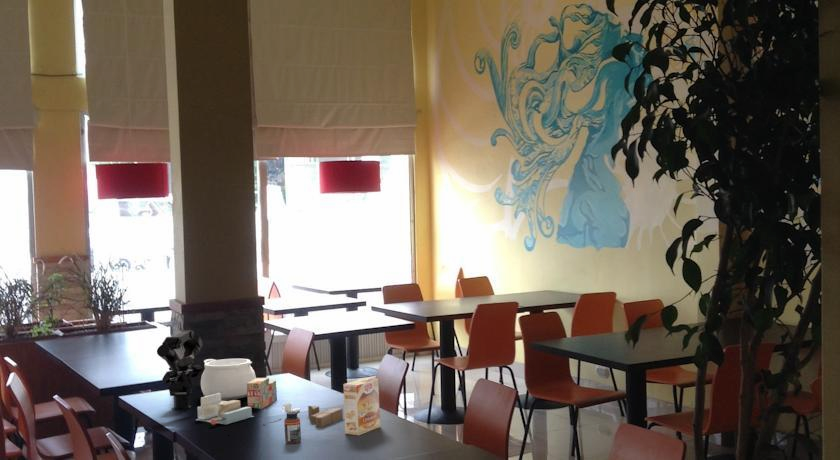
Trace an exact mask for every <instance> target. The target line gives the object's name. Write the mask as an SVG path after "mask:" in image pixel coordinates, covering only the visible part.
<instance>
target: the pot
mask: <svg viewBox="0 0 840 460" xmlns="http://www.w3.org/2000/svg"><path fill="white" fill-rule="evenodd" d="M203 363H204V370H203V372H202V374H201V378H200V388H201V392H202V393H203V396H204V397H205V396H209V395H213V394H217V393H221V401H231V400H238V399H242V398H243V399H244V398H247V383H248V382H250V381H252V380H254V379H256V378H257V376H256V373H255V370H254V369H253V367H252V366H251V364H253V361H251V359H249V358H224V359H223V358H222V359H214V358H208V359H204V360H203Z"/></svg>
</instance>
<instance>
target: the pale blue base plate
mask: <svg viewBox="0 0 840 460" xmlns="http://www.w3.org/2000/svg"><path fill="white" fill-rule="evenodd" d="M252 411H253V410H252V408H251V407H248V406H244V407H240V409H236V410H232V411H229V412H225V413H222V418H220V419H218V416H216V417H212V418H209V419H205V420H203V419H198V418H197V419H196V421H200V422H206V423H210V424H211V425H214V426H215V425H216V424H220V425H229V424H232V423H236V422H239V421H243V420H246V419H250V418H253V417H255V416H254V415H253V412H252Z"/></svg>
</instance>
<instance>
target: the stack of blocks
mask: <svg viewBox="0 0 840 460" xmlns="http://www.w3.org/2000/svg"><path fill="white" fill-rule="evenodd" d="M246 398H247V407H251V409H252V408H254V409H259V410H262V409H265V408H266V407H268V406H269V405H270V404H273V402H275V401H277V400H278V391H277V380H276V379H275V380H270V377H256V379H254V380H252V381H250V382H248V383H247V397H246Z"/></svg>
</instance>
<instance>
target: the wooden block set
mask: <svg viewBox="0 0 840 460" xmlns="http://www.w3.org/2000/svg"><path fill="white" fill-rule="evenodd" d="M307 407H308V409H307V410H308V411H307V413H308V415H307V416H308V419H309V422H310V423H311V424H315V426H316V427H317V428H321V429H322V428H323V427H326V426H328V425H330V424H333V423H336V422H339V421H340V420H343V419H344V416H343V414H344V413H343V411H344V409H343V408H341V407H333V408H330V409H328V408H327V409H324V410H322V411H320V406H318V405H317V406H315V405H313V406H312V405H308V406H307Z"/></svg>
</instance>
